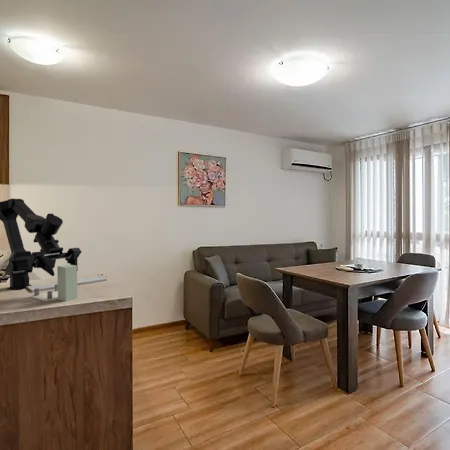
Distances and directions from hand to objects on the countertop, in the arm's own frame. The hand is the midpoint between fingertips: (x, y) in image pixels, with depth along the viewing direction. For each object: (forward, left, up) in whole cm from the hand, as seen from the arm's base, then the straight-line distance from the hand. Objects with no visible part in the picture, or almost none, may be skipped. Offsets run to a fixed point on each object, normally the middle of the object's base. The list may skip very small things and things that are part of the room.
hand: (65, 273), depth 115 cm
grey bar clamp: (-15, +22, -10) cm, 29 cm away
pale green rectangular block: (+1, 0, -10) cm, 10 cm away
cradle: (-7, +3, -10) cm, 12 cm away
